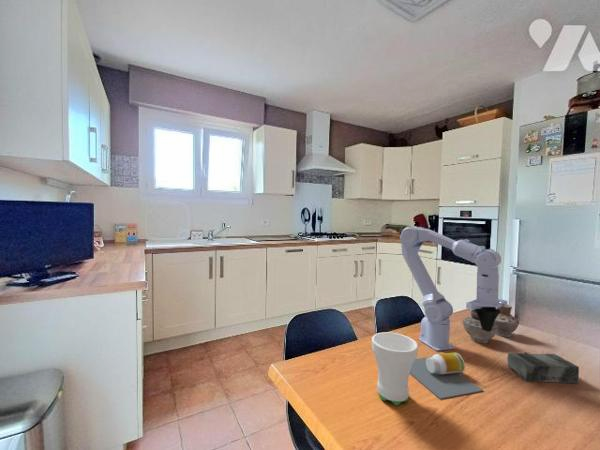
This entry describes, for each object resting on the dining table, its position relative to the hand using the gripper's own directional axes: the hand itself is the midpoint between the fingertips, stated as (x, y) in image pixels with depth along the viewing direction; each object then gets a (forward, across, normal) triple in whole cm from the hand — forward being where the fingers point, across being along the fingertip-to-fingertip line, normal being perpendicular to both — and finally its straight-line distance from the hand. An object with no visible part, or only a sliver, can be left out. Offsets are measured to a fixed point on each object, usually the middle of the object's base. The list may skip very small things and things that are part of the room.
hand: (486, 330), depth 87 cm
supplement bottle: (+7, -13, -2) cm, 15 cm away
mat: (+10, -21, -2) cm, 24 cm away
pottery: (+11, +20, +15) cm, 27 cm away
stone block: (+11, +10, -9) cm, 17 cm away
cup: (+10, -39, -7) cm, 41 cm away
